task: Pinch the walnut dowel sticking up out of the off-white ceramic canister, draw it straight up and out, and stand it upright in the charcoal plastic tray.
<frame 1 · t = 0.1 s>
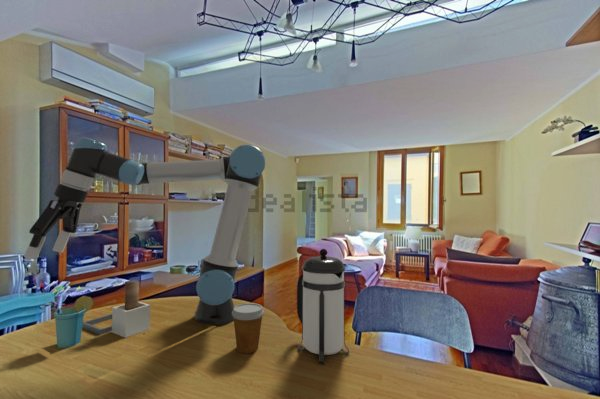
hand: (44, 254, 85), 28 cm above the table, tool tilted 20°, fingers open, 13 cm apart
dowel: (131, 330, 96), point 1 cm above the table, touching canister
cup: (65, 349, 86), on the table
tray: (110, 327, 101), on the table
disposable coffee cup: (247, 348, 87), on the table
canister: (130, 333, 96), on the table
coffee press: (319, 350, 86), on the table
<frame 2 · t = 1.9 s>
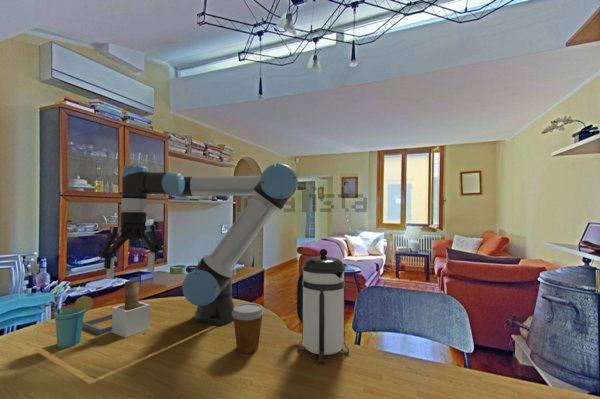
hand: (131, 274, 97), 19 cm above the table, tool pointing down, fingers open, 13 cm apart
nothing on the table moved.
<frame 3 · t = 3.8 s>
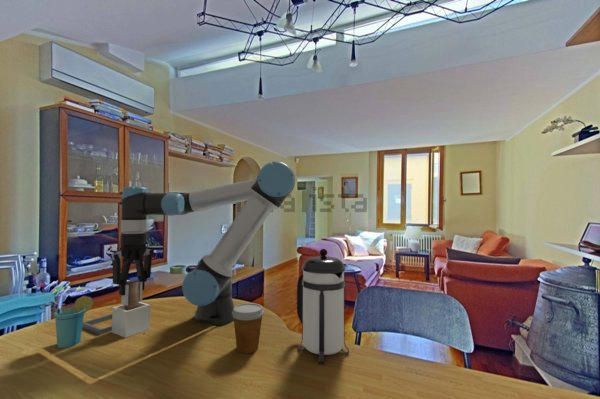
hand: (131, 302, 97), 10 cm above the table, tool pointing down, fingers closed on dowel, 4 cm apart
dowel: (131, 330, 96), point 1 cm above the table, touching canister, gripper
everything else where it was.
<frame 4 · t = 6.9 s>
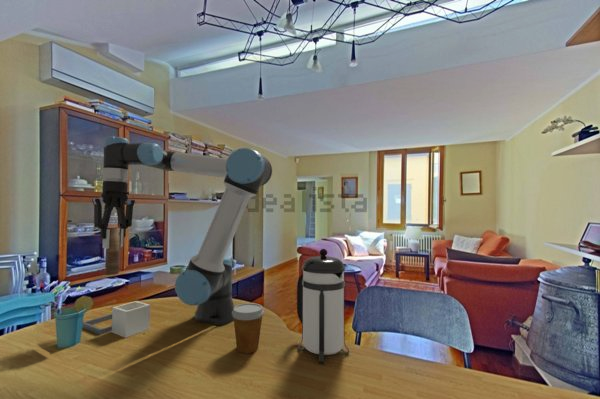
hand: (112, 247, 102), 28 cm above the table, tool pointing down, fingers closed on dowel, 4 cm apart
dowel: (111, 273, 101), point 19 cm above the table, touching gripper
everything else where it was.
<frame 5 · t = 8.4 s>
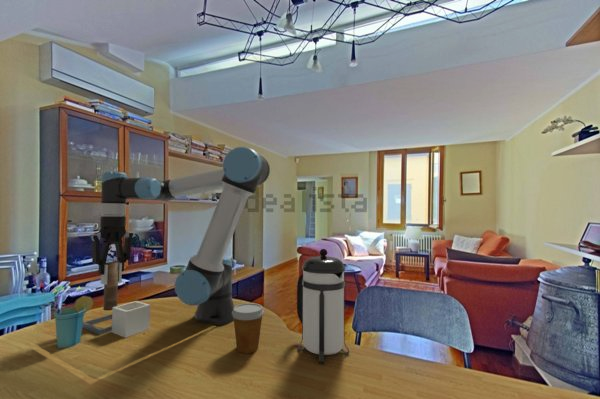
hand: (111, 282, 102), 16 cm above the table, tool pointing down, fingers closed on dowel, 4 cm apart
dowel: (110, 308, 101), point 7 cm above the table, touching gripper
everything else where it was.
when the fingers open (11 cm above the table, at t = 9.9 s): dowel drops 1 cm, resting on tray.
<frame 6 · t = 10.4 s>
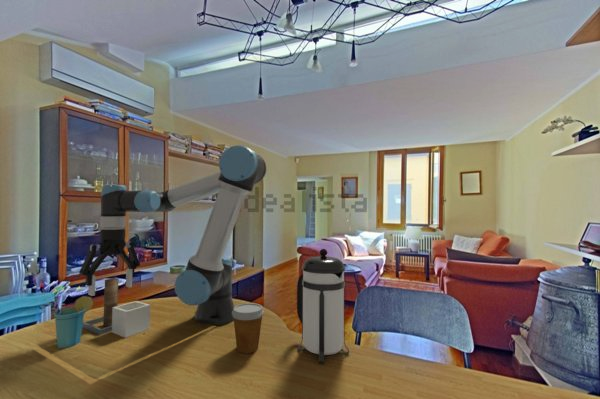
hand: (111, 290, 101), 13 cm above the table, tool pointing down, fingers open, 11 cm apart
dowel: (110, 326, 101), point 1 cm above the table, touching tray
everything else where it was.
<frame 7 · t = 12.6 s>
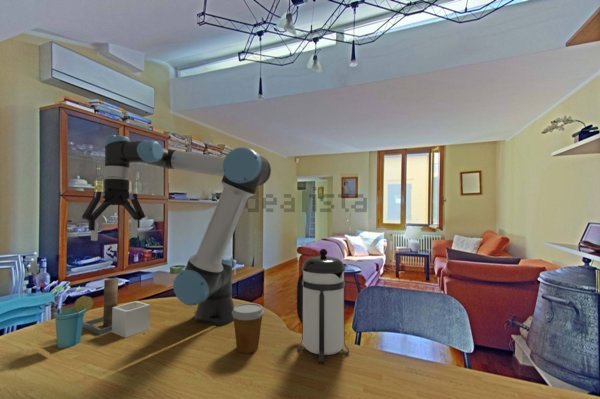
hand: (115, 238, 103), 31 cm above the table, tool pointing down, fingers open, 13 cm apart
nothing on the table moved.
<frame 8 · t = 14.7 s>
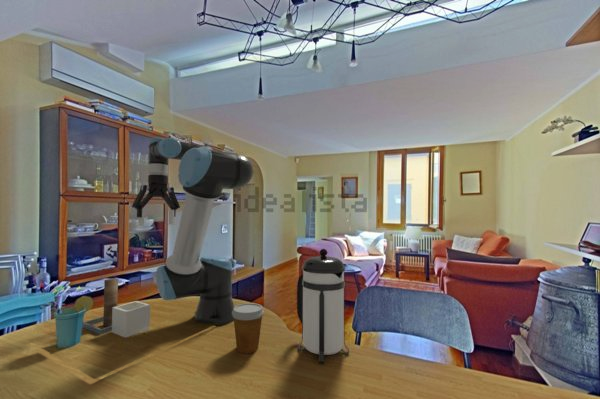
hand: (157, 225, 122), 35 cm above the table, tool pointing down, fingers open, 13 cm apart
nothing on the table moved.
at the end: dowel inside the target area on the tray (0.0 cm from its centre), point 0.5 cm above the tray's base; dowel tilted 0°; the gripper is holding nothing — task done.
